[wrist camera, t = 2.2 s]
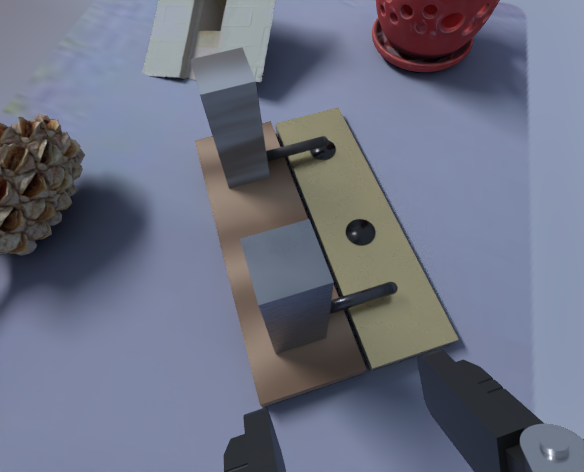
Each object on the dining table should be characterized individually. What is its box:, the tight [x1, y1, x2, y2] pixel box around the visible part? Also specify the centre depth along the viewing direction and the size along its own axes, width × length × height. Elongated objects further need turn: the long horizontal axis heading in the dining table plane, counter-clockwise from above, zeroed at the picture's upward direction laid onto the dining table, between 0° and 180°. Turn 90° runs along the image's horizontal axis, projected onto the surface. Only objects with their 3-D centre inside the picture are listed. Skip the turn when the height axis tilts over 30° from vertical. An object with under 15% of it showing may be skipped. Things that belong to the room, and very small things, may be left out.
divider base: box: [190, 47, 367, 407], centre depth 30 cm, size 26×12×12 cm, turn 17°
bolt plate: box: [276, 108, 459, 371], centre depth 36 cm, size 26×7×1 cm, turn 17°
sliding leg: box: [240, 219, 398, 354], centre depth 26 cm, size 4×10×11 cm, turn 107°
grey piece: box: [142, 0, 275, 82], centre depth 48 cm, size 16×9×15 cm
